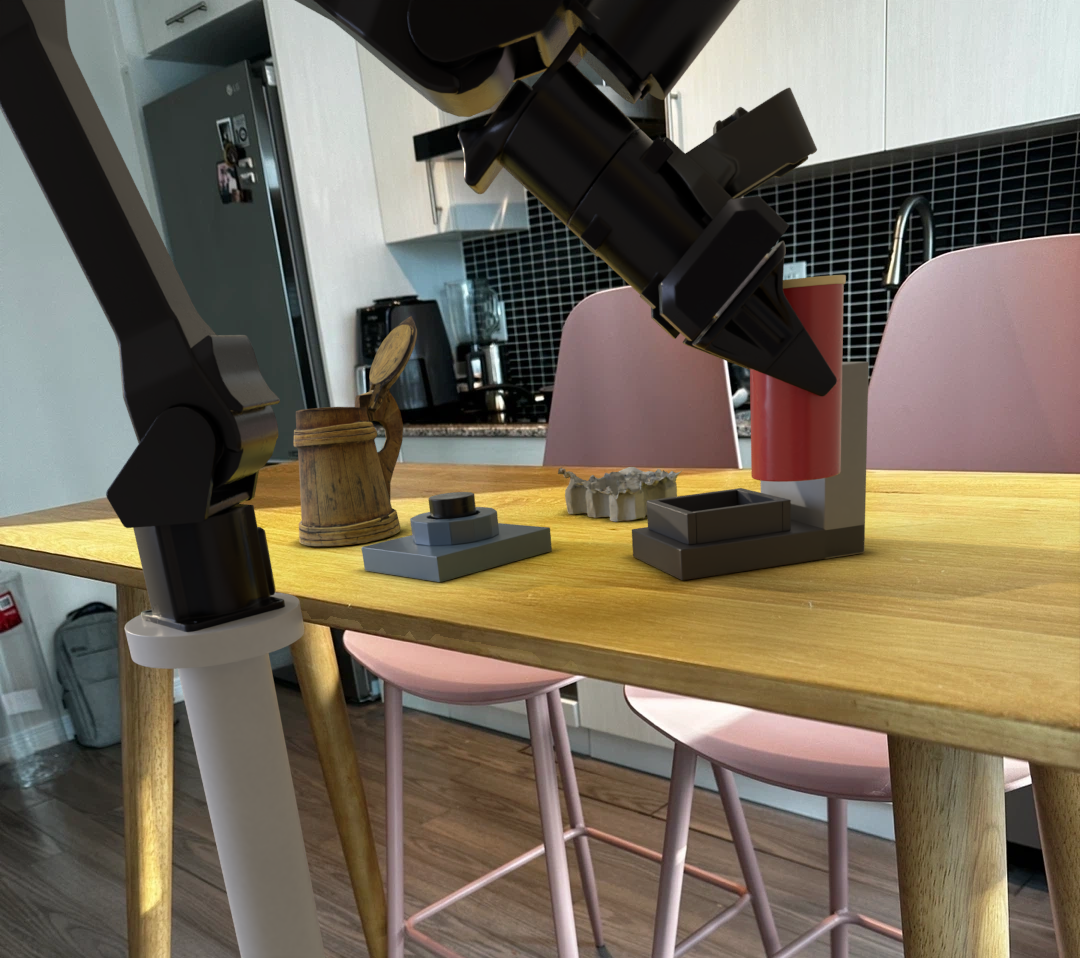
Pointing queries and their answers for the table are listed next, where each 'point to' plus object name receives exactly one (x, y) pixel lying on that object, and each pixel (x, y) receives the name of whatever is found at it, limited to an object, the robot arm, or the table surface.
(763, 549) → the coffee maker
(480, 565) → the control pad
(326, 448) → the wooden mug
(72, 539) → the table surface
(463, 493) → the button
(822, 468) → the red cylinder
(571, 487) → the egg carton
